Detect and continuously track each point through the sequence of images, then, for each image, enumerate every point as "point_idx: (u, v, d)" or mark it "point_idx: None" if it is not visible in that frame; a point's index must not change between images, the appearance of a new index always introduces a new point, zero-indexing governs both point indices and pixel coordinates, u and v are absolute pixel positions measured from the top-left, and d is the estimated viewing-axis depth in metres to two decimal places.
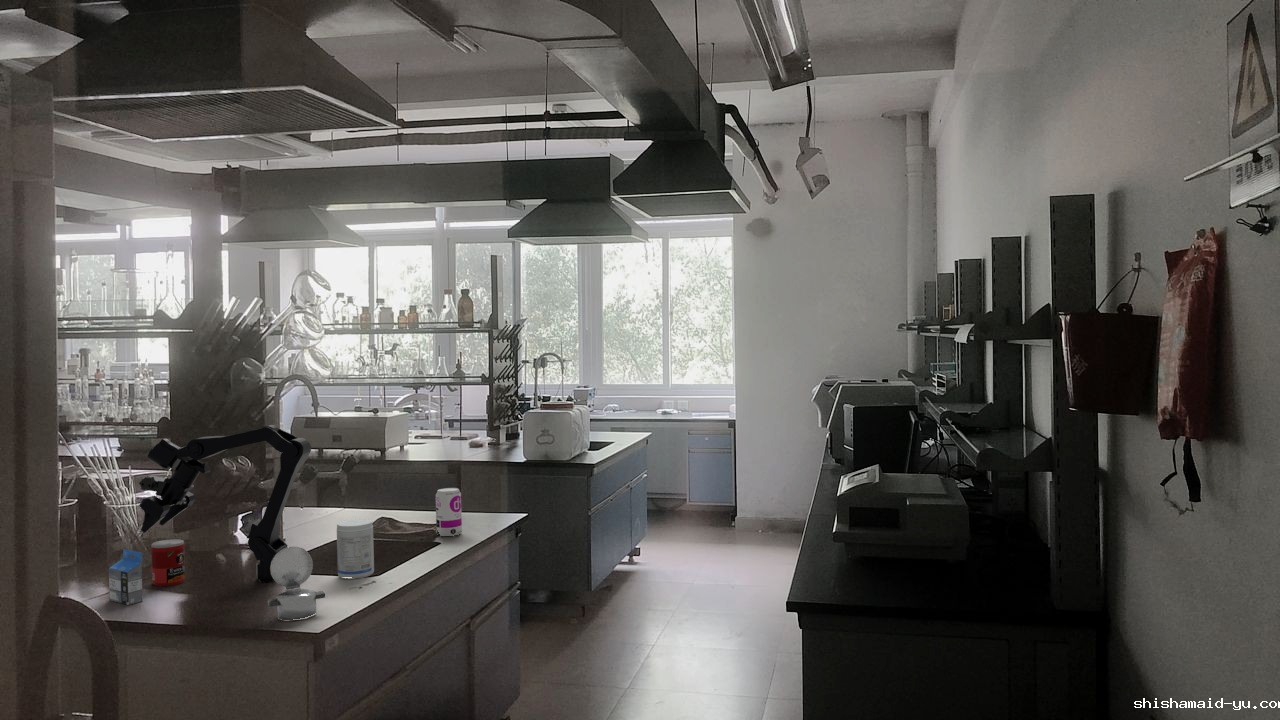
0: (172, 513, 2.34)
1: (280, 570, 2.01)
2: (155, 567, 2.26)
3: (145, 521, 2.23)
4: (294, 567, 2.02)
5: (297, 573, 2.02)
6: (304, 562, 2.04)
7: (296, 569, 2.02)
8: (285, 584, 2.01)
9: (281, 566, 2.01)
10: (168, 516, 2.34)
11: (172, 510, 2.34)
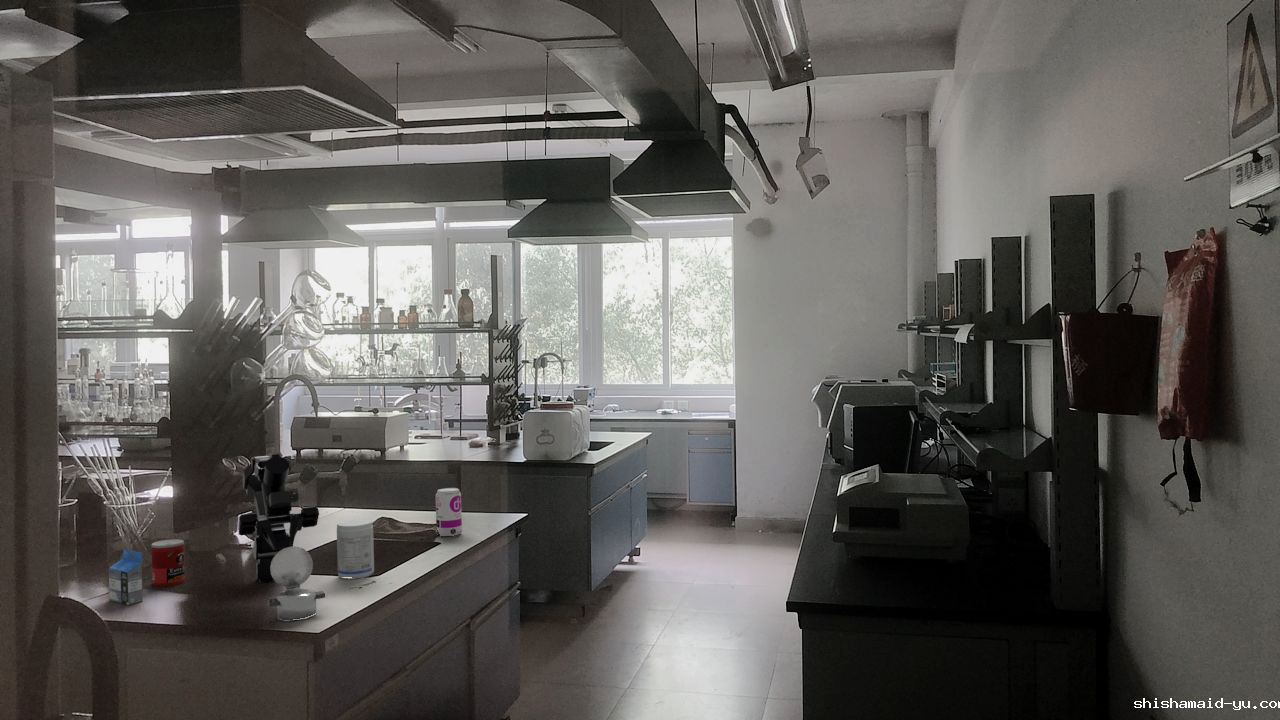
0: None
1: (280, 570, 2.01)
2: (155, 567, 2.26)
3: (295, 534, 2.15)
4: (294, 567, 2.02)
5: (297, 573, 2.02)
6: (304, 562, 2.04)
7: (296, 569, 2.02)
8: (285, 584, 2.01)
9: (281, 566, 2.01)
10: None
11: None
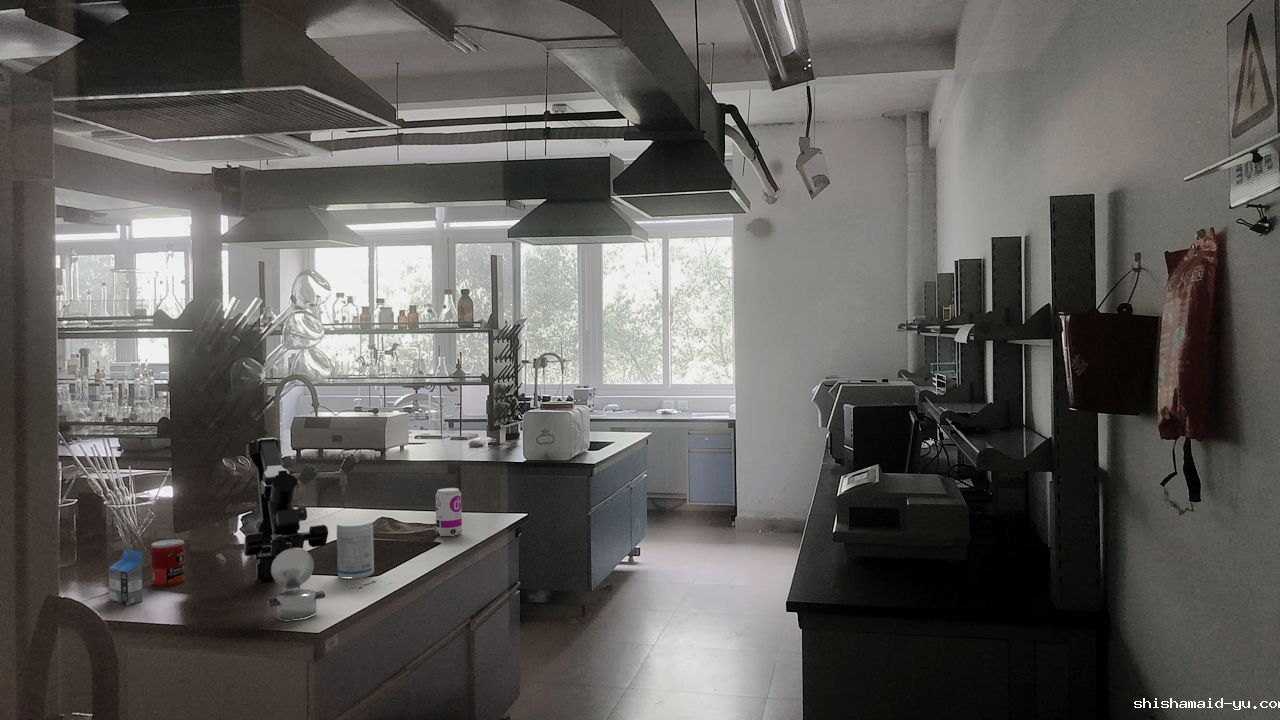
0: None
1: (281, 571, 2.00)
2: (155, 567, 2.26)
3: None
4: (295, 568, 2.01)
5: (298, 574, 2.02)
6: (305, 563, 2.02)
7: (297, 570, 2.02)
8: (285, 585, 2.00)
9: (282, 567, 2.00)
10: None
11: None
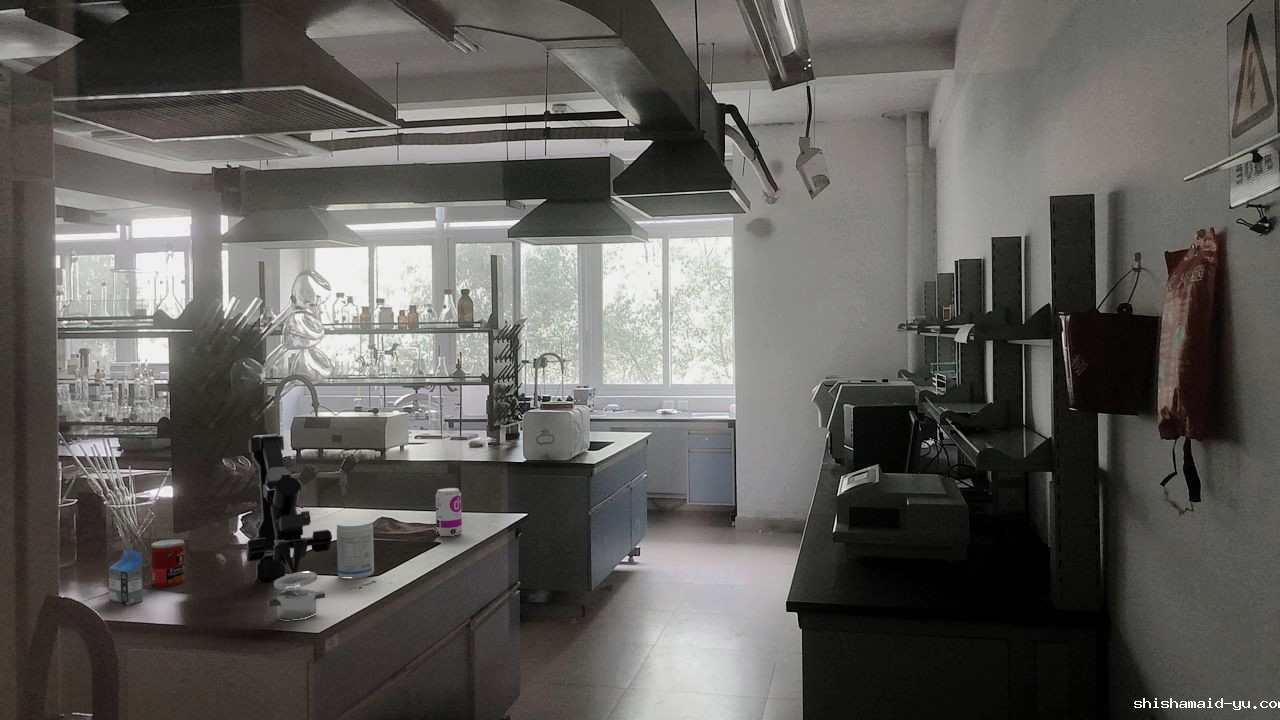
0: None
1: (283, 584, 1.97)
2: (155, 567, 2.26)
3: (298, 561, 2.02)
4: (298, 582, 1.99)
5: (300, 583, 2.00)
6: (308, 579, 1.99)
7: (299, 582, 1.99)
8: (286, 588, 2.00)
9: (285, 583, 1.97)
10: None
11: None
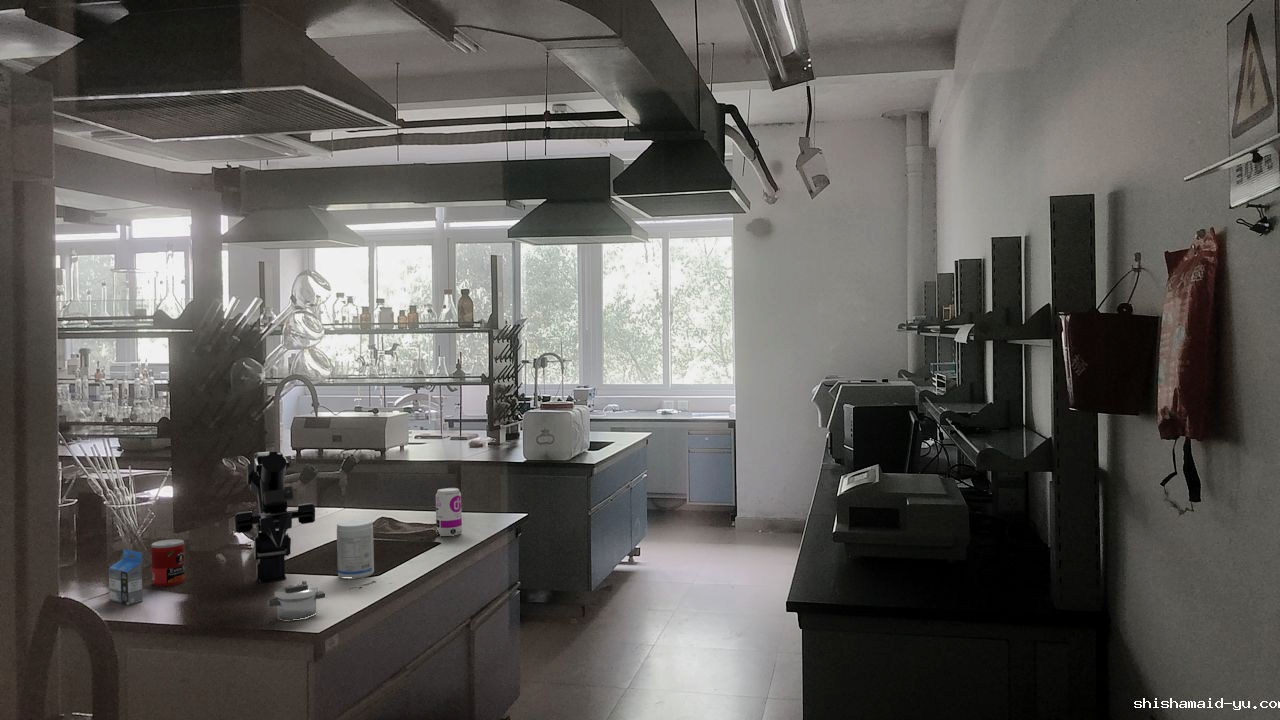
0: None
1: None
2: (155, 567, 2.26)
3: (283, 533, 2.14)
4: None
5: None
6: None
7: None
8: None
9: None
10: None
11: None
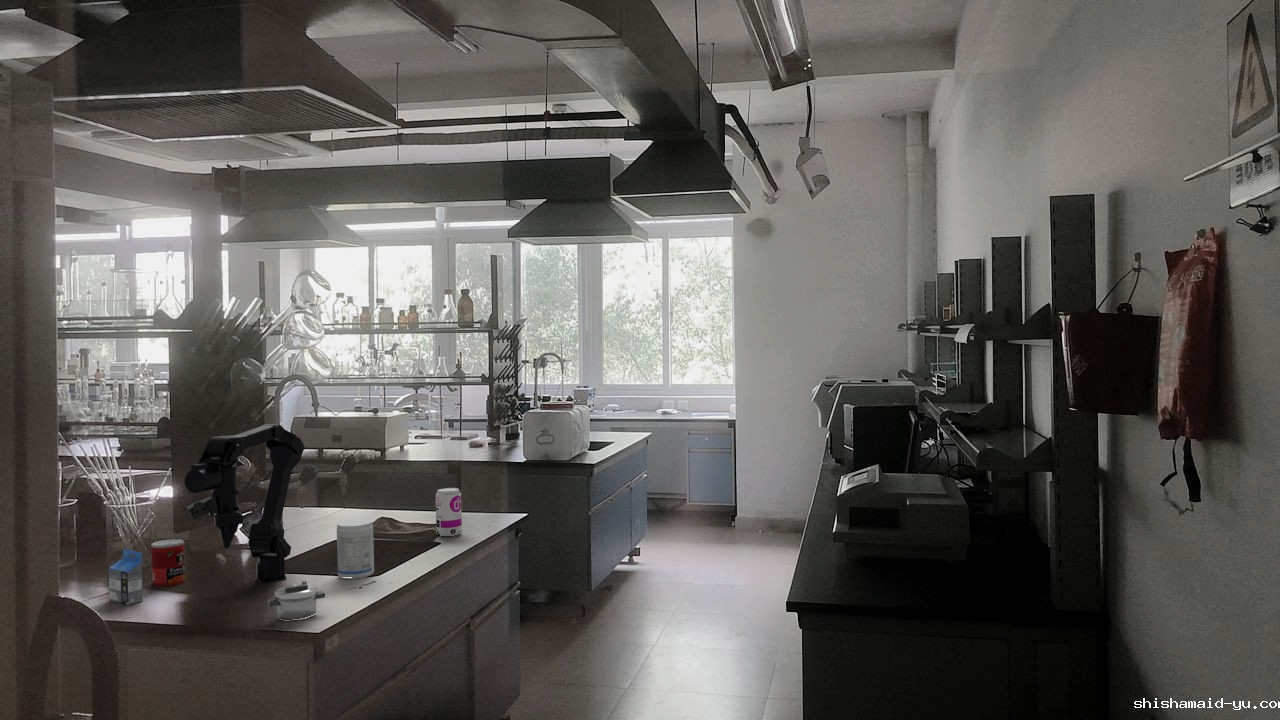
0: None
1: None
2: (155, 567, 2.26)
3: (224, 536, 2.13)
4: None
5: None
6: None
7: None
8: None
9: None
10: None
11: None
